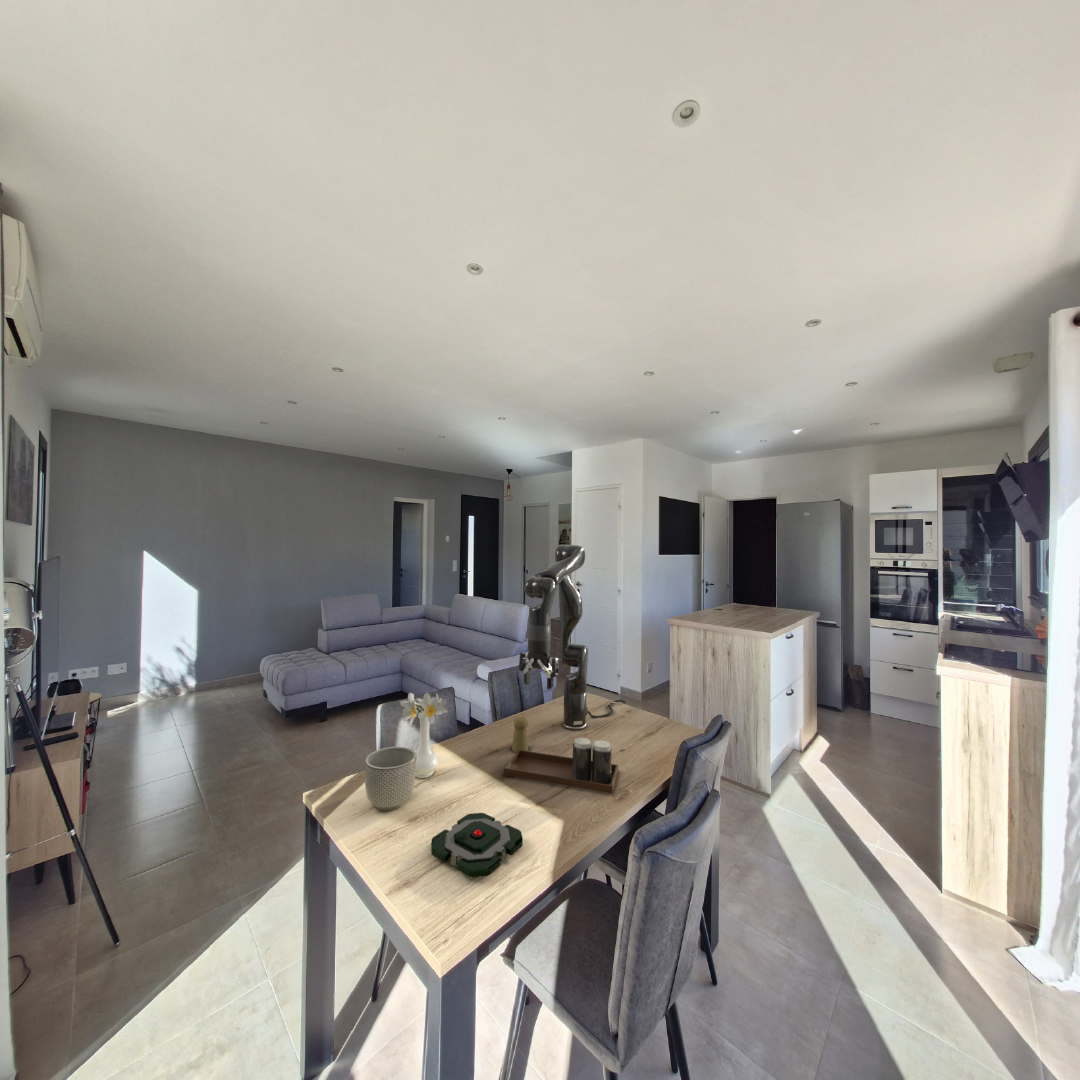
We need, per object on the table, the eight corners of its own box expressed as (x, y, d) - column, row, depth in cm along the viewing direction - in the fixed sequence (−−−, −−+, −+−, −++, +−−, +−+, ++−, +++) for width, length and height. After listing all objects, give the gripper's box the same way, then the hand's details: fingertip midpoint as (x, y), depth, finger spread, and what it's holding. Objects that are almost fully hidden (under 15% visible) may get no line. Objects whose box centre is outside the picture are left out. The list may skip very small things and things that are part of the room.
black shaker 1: (574, 770, 147) (575, 736, 147) (592, 773, 145) (593, 738, 145) (570, 779, 141) (571, 743, 141) (589, 782, 139) (590, 746, 139)
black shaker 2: (593, 773, 145) (594, 738, 145) (612, 776, 143) (613, 741, 143) (590, 782, 139) (591, 746, 139) (609, 785, 137) (610, 749, 138)
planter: (425, 804, 126) (426, 757, 126) (377, 825, 116) (378, 774, 116) (400, 785, 136) (401, 742, 136) (354, 803, 126) (356, 756, 126)
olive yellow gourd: (529, 746, 165) (530, 715, 165) (527, 753, 159) (528, 721, 159) (513, 744, 166) (513, 714, 166) (510, 752, 160) (511, 720, 160)
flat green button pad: (475, 818, 120) (475, 800, 120) (529, 844, 110) (530, 825, 110) (422, 854, 105) (422, 834, 105) (479, 889, 95) (480, 867, 95)
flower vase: (417, 757, 154) (419, 684, 154) (456, 773, 144) (458, 694, 144) (385, 772, 143) (387, 693, 144) (425, 791, 133) (427, 705, 133)
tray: (518, 756, 156) (518, 749, 156) (617, 772, 147) (618, 764, 147) (503, 776, 143) (503, 768, 143) (612, 794, 133) (612, 786, 133)
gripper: (563, 638, 149) (562, 687, 149) (527, 633, 157) (526, 680, 156) (552, 642, 143) (551, 693, 143) (515, 636, 150) (514, 685, 150)
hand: (538, 686), depth 149 cm, fingers open, 8 cm apart
